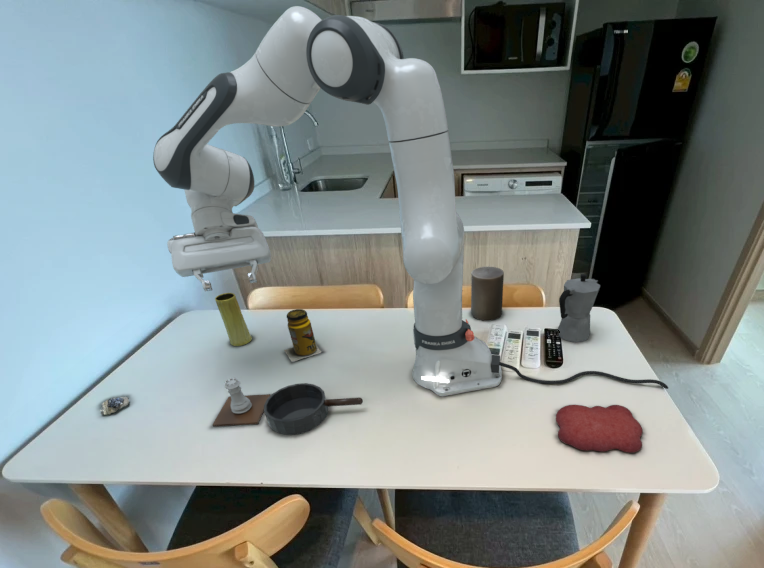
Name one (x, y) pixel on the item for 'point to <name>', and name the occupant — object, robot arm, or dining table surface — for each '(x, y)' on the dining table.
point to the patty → (599, 428)
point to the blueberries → (113, 405)
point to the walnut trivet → (247, 418)
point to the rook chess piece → (237, 397)
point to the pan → (296, 409)
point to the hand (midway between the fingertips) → (231, 285)
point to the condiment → (300, 336)
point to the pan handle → (343, 401)
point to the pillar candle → (487, 293)
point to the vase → (233, 319)
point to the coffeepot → (577, 308)
